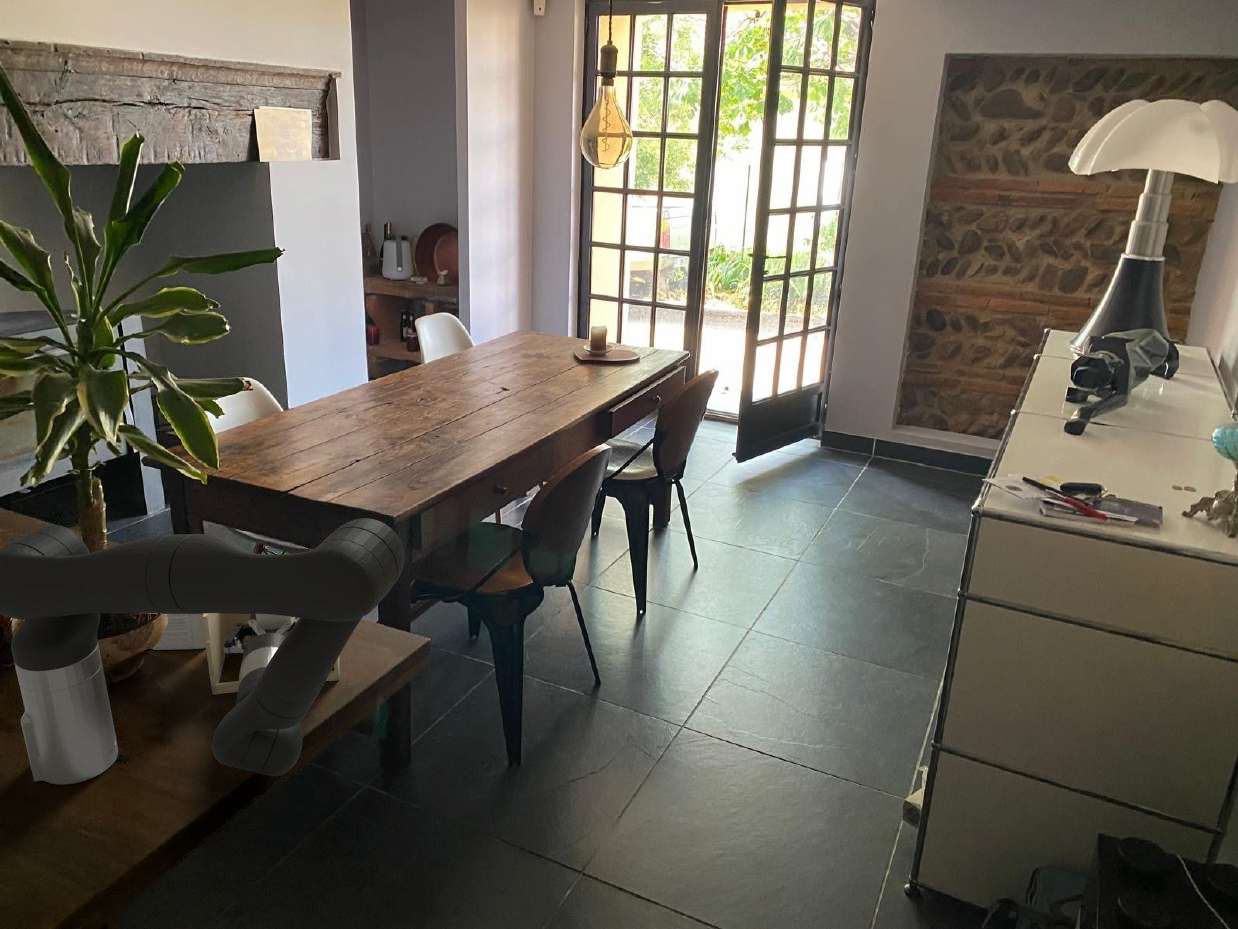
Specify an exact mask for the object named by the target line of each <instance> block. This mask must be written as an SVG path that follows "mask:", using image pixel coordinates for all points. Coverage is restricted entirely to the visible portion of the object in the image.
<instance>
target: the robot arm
mask: <svg viewBox="0 0 1238 929" xmlns="http://www.w3.org/2000/svg"><path fill="white" fill-rule="evenodd" d="M404 564H405V549H404V547H403V544H402V541H401V539H400V536H398V534H397V532H395V531H394V529H393V528H392V527H390V526H388V525H387V523H385V522H382V521H380V520H377V519H374V518H367V517H365V518H355V519H352V520H350V521H348V522H346V523H344V524H342V525H340V526H339V527H337V528H336V529H335V530H334V531H332V532H331V533H330V534H329V535H328V536H327V537H326V538H325V539H324V540H323V541H322V542H321V543H319V544H318V545H317V546H316V547H315V548H313V549H310V550H307V551H303V552H295V553H287V554H286V553H283V554H282V553H281V554H260V553H254V552H251V551H249V550H247V549H245V548H244V547H243V546H241V545H240V544H238V543H237V542H234V541H232V540H230V539H228V538H225V537H222V536H220V535H214V534H206V533H205V534H204V533H195V534H194V533H192V534H190V533H187V534H182V533H181V534H180V533H179V534H164V535H162V534H161V535H156V536H150V537H144V538H140V539H136V540H132V541H128V542H124V543H122V544H117V545H113V546H111V547H107V548H103V549H100V550H97V551H93V552H90V550H89V548H88V547H87V545H86V543H85V542H84V541H83V539H82V538H81V537H80V536H79V535H78V534H77V533H76V532H74V531H73V530H71V529H70V528H67V527H65V526H61V525H57V524H55V525H53V524H49V525H44V526H41V527H38V528H35V529H34V530H31V531H30V532H28V533H26V534H24V535H22V536H21V537H19V538H16V539H14V540H13V541H11V542H10V543H9V542H8V543H7V544H5V545H4V546H2V547H0V615H1V616H4V617H6V618H11V619H14V620H23V622H22V623H21V625H20V626H19V627H18V629H17V630H16V632H15V633H14V635H13V637H12V639H11V643H10V645H11V647H10V649H11V653H12V659H13V662H14V666H15V672H16V675H17V681H18V684H19V688H20V693H21V697H22V702H23V707H24V713H23V714H22V716H21V718H20V725H21V728H22V733H23V737H24V743H25V747H26V750H27V755H28V760H29V764H30V765H29V766H30V769H31V772H32V777H33V781H34V782H40V781H44V782H46V783H49V784H51V785H52V784H54V785H72V784H78V783H81V782H85V781H88V780H90V779H92V778H95V777H98V775H101V774H103V772H105V771H107V770H108V769H109V768H110V767H111V766H113V764H114V763H115V762H116V760H117V759H118V755H119V748H118V747H119V746H118V743H117V742H118V740H117V734H116V731H115V726H114V721H113V720H114V719H113V715H112V714H113V713H112V710H111V704H110V699H109V693H108V689H107V688H108V686H107V682H106V677H105V673H104V665H103V661H102V655H101V651H100V646H99V640H98V634H97V633H98V629H99V626H100V622H101V614H140V613H160V614H205V613H228V614H250V618H249V621H248V623H247V624H244V625H243V623H236V624H235V625H234V627H233V628H232V630H231V631H230V632H229V634H228V635H227V637H226V638H225V640H224V641H223V645H224V653H225V658H232V657H234V655H235V654H241V655H242V660H241V664H240V670H239V675H238V681H239V690H238V692H237V696H236V701H235V706H233V707H232V709H231V710H230V711H228V712H227V713H226V714H225V715H224V717H223V718H222V719H221V721H220V722H219V724H218V725H217V727H216V729H215V731H214V733H213V736H212V740H211V750H212V754H213V756H214V758H215V759H216V760H217V761H218V762H219V763H220V764H222V765H224V766H227V767H230V768H235V769H239V770H242V771H243V770H244V771H248V772H253V773H256V774H261V775H265V776H269V777H270V776H271V777H278V776H282V775H284V774H286V773H288V772H289V771H290V770H291V769H293V767H294V766H295V765H296V764H297V762H298V760H299V759H300V756H301V753H302V750H303V749H302V748H303V738H304V737H303V730H302V726H301V722H302V721H303V720H304V719H305V717H306V716H307V714H308V713H309V711H310V710H311V709H312V708H311V707H312V706H313V704H314V702H316V699H317V697H318V696H319V694H320V693H321V690H322V688H323V687H324V684H325V683H326V682H325V681H326V679H327V678H328V676H329V674H330V672H331V671H333V669H334V665H335V663H336V661H337V659H338V657H339V655H340V656H341V653H342V651H343V650H344V649H345V646H346V645H347V643H348V641H349V640H350V638H351V635H352V634H353V632H354V631H355V630H356V628H357V626H358V625H359V624H360V622H361V621H362V619H363V618H364V617H366V616H367V615H369V614H370V613H371V612H373V611H374V610H375V609H376V608H377V606H378V605H379V604H380V602H382V601H383V599H384V598H385V597H386V596H387V595H388V593H389V592H390V591H391V590H392V589H393V587H394V586H395V585H396V583H397V582H398V580H399V578H400V576H401V574H402V572H403V568H404ZM256 614H271V615H282V616H290V617H292V619H291V620H290V621H286V623H285V624H284V625H283V626H282V627H281V628H278V629H273V630H271V629H266V630H263V628H262V627H261V625H260V624H258V623H257V622H256ZM245 636H249V637H250V638H249V639H248V640H246V641H243V640H244V638H245Z"/></svg>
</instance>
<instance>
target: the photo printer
mask: <svg viewBox="0 0 1238 929" xmlns="http://www.w3.org/2000/svg"><path fill="white" fill-rule="evenodd" d="M205 642H206V638H205V631H204V624H203V614H168V624H167V626H166V629H165V631H164V634H163V635H162V637H161V640H160V641H159V643H158V644H157V645H156V646H155V647H154V648H153V650H152V651H160V650H161V651H164V650H165V651H167V650H168V651H169V650H170V651H171V650H172V651H173V650H194V649H195V650H198V649H200V650H201V649H206V644H205Z"/></svg>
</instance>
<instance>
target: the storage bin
mask: <svg viewBox="0 0 1238 929" xmlns="http://www.w3.org/2000/svg"><path fill="white" fill-rule="evenodd" d="M249 618H250V614H228V613H205V614H203V624H204V631H205V638H206V642H205V644H206V648H205V650H206V657H207V663H208V664H207V665H208V671H209V672H208V673H209V679H210V686H211V694H212V695H220V694H221V695H223V694H230V693H238V690H239V680H236V681H227V682H225V681H224V682H221V676H222V672H223V668H224V663H225V660H226V657H225V653H224V645H223V641H224V640H225V638H226V637H227V635H228V634H229V632H230V631H231V630H232V628H233V627H234V625H235V624H236V623H243V625H244V624H247V623H248V621H249ZM249 638H250V637H249V636H245V638H244V640H243V641H242V642H245V641H246V640H248V639H249ZM340 656H341V654H340V655H339V657H338V659H337V661H336V663H335V665H334V667H333V669H334V670H333V669H332V670H331V672H330V674H329V676H328V678H327V679H326V681H329V682H336V681H340V666H341V665H340V662H341V661H340V660H341V658H340ZM326 681H325V683H326Z"/></svg>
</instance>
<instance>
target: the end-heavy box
mask: <svg viewBox="0 0 1238 929" xmlns="http://www.w3.org/2000/svg"><path fill="white" fill-rule="evenodd" d="M291 619H292V617H290V616H282V615H271V614H256V622H257V623H258V624H260V625H261V627H262V628H263V630H266V629H271V630H273V629H278V628H281V627H282V626H283V625H284V624H285V623H286V621H290V620H291Z"/></svg>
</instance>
